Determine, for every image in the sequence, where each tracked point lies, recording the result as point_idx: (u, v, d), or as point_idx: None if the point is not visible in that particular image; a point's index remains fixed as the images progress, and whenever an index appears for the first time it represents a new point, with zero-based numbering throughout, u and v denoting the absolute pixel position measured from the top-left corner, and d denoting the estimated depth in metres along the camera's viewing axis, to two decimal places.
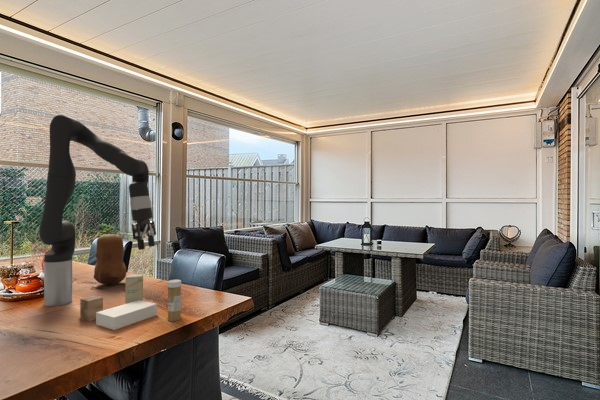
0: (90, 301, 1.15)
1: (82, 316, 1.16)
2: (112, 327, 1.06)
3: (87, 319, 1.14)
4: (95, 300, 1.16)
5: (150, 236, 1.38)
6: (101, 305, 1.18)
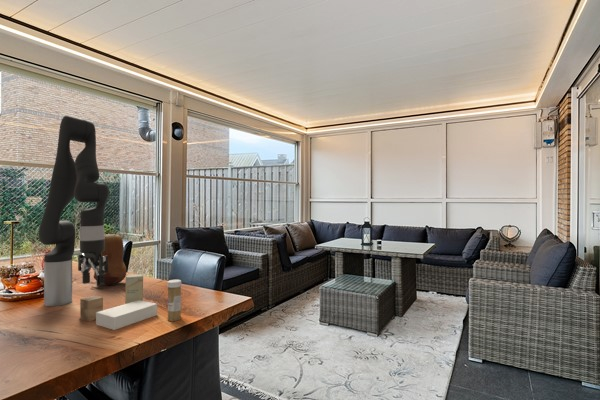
0: (90, 301, 1.15)
1: (82, 316, 1.16)
2: (112, 327, 1.06)
3: (87, 319, 1.14)
4: (95, 300, 1.16)
5: None
6: (101, 305, 1.18)
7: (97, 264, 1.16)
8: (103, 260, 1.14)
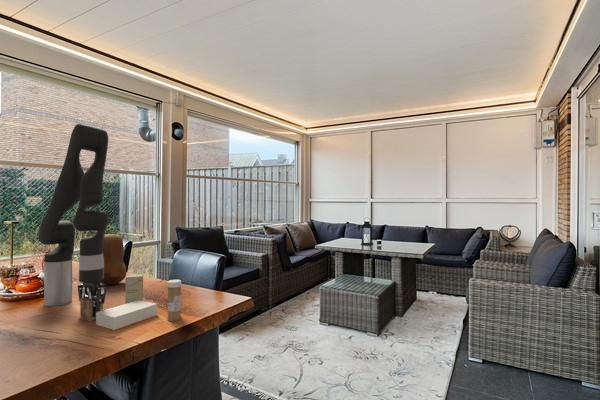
0: (90, 301, 1.15)
1: (82, 316, 1.16)
2: (112, 327, 1.06)
3: (87, 319, 1.14)
4: (95, 300, 1.16)
5: None
6: (101, 305, 1.18)
7: None
8: (101, 293, 1.14)
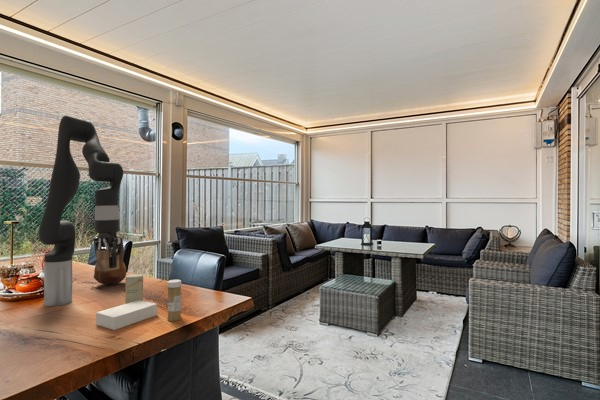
0: (106, 251, 1.14)
1: (99, 267, 1.15)
2: (112, 327, 1.06)
3: (104, 269, 1.13)
4: (111, 251, 1.15)
5: None
6: (117, 257, 1.17)
7: (111, 245, 1.15)
8: (118, 243, 1.13)
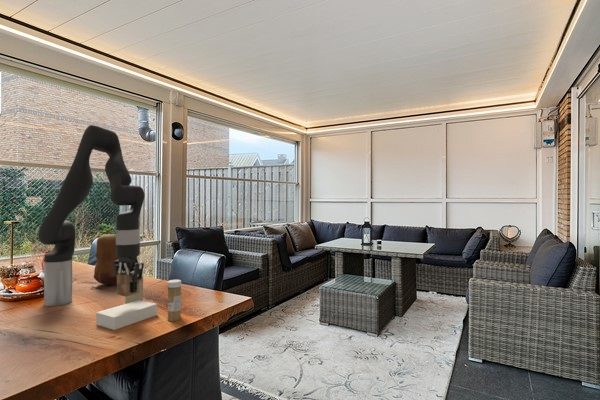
0: (127, 276, 1.13)
1: (119, 292, 1.14)
2: (112, 327, 1.06)
3: (125, 294, 1.13)
4: (132, 275, 1.14)
5: None
6: (138, 281, 1.16)
7: (132, 269, 1.15)
8: (139, 268, 1.12)
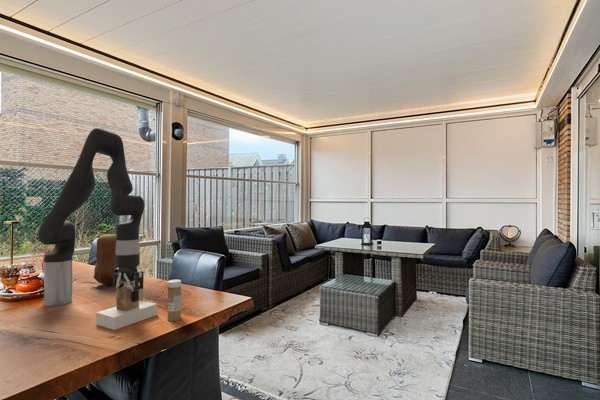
0: (127, 291, 1.13)
1: (118, 306, 1.14)
2: (112, 327, 1.06)
3: (124, 309, 1.12)
4: None
5: None
6: None
7: (132, 279, 1.14)
8: (139, 276, 1.12)
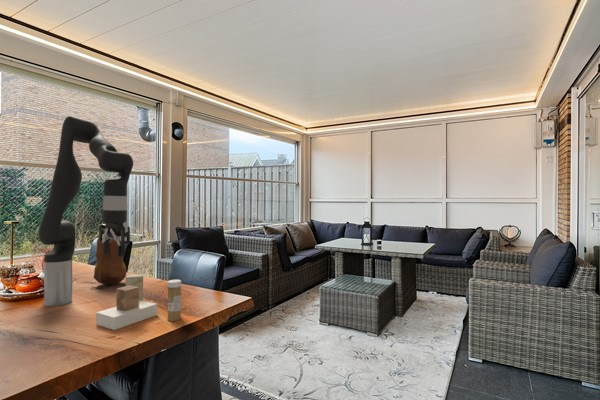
0: (127, 291, 1.13)
1: (118, 306, 1.14)
2: (112, 327, 1.06)
3: (124, 309, 1.12)
4: (132, 290, 1.14)
5: None
6: (137, 295, 1.16)
7: (119, 235, 1.15)
8: (125, 231, 1.13)
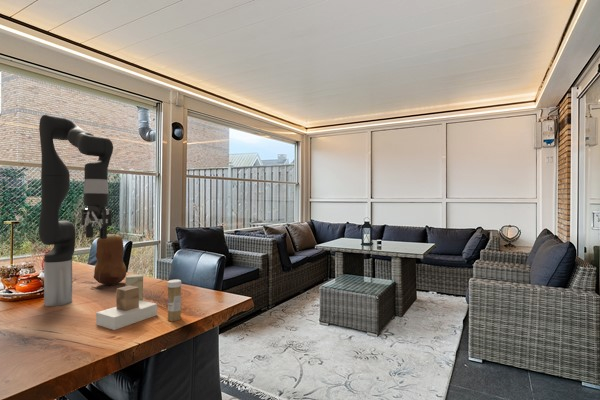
0: (127, 291, 1.13)
1: (118, 306, 1.14)
2: (112, 327, 1.06)
3: (124, 309, 1.12)
4: (132, 290, 1.14)
5: None
6: (137, 295, 1.16)
7: (100, 217, 1.17)
8: (106, 213, 1.14)
